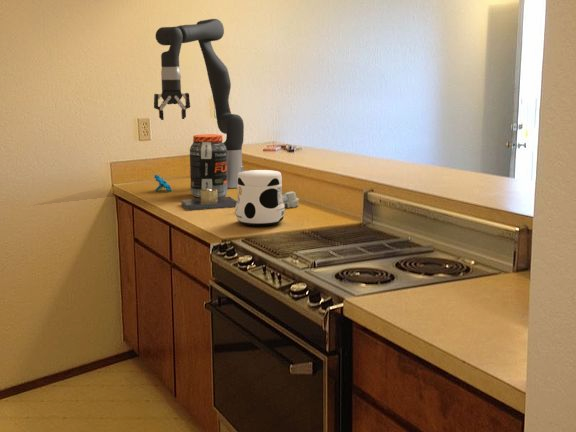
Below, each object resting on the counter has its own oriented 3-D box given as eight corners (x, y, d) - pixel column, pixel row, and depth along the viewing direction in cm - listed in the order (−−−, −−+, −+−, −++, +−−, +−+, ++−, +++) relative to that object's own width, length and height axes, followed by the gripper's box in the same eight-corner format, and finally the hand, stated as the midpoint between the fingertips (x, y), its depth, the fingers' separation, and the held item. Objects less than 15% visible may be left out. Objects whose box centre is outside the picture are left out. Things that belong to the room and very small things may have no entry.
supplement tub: (217, 199, 294) (215, 137, 289) (184, 197, 300) (182, 136, 295) (233, 193, 309) (232, 134, 303) (202, 191, 315) (200, 133, 309)
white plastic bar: (237, 201, 270) (293, 187, 281) (239, 218, 272) (295, 203, 283) (242, 204, 266) (299, 189, 277) (245, 221, 268) (301, 205, 279)
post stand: (229, 201, 291) (229, 185, 290) (237, 206, 280) (237, 190, 279) (181, 204, 284) (180, 188, 283) (187, 210, 273) (187, 193, 272)
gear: (169, 189, 309) (153, 173, 310) (160, 199, 310) (144, 183, 310) (176, 189, 320) (160, 173, 320) (167, 198, 321) (152, 182, 321)
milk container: (229, 220, 255) (228, 171, 251) (273, 216, 262) (273, 168, 258) (245, 230, 239) (244, 178, 236) (292, 226, 246) (292, 174, 242)
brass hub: (214, 198, 286) (214, 187, 285) (219, 201, 280) (218, 190, 279) (199, 199, 284) (199, 188, 283) (203, 202, 278) (202, 191, 277)
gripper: (186, 78, 288) (187, 118, 291) (151, 78, 283) (153, 119, 286) (190, 78, 281) (192, 119, 285) (154, 79, 276) (156, 120, 280)
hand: (172, 119), depth 286 cm, fingers open, 8 cm apart
